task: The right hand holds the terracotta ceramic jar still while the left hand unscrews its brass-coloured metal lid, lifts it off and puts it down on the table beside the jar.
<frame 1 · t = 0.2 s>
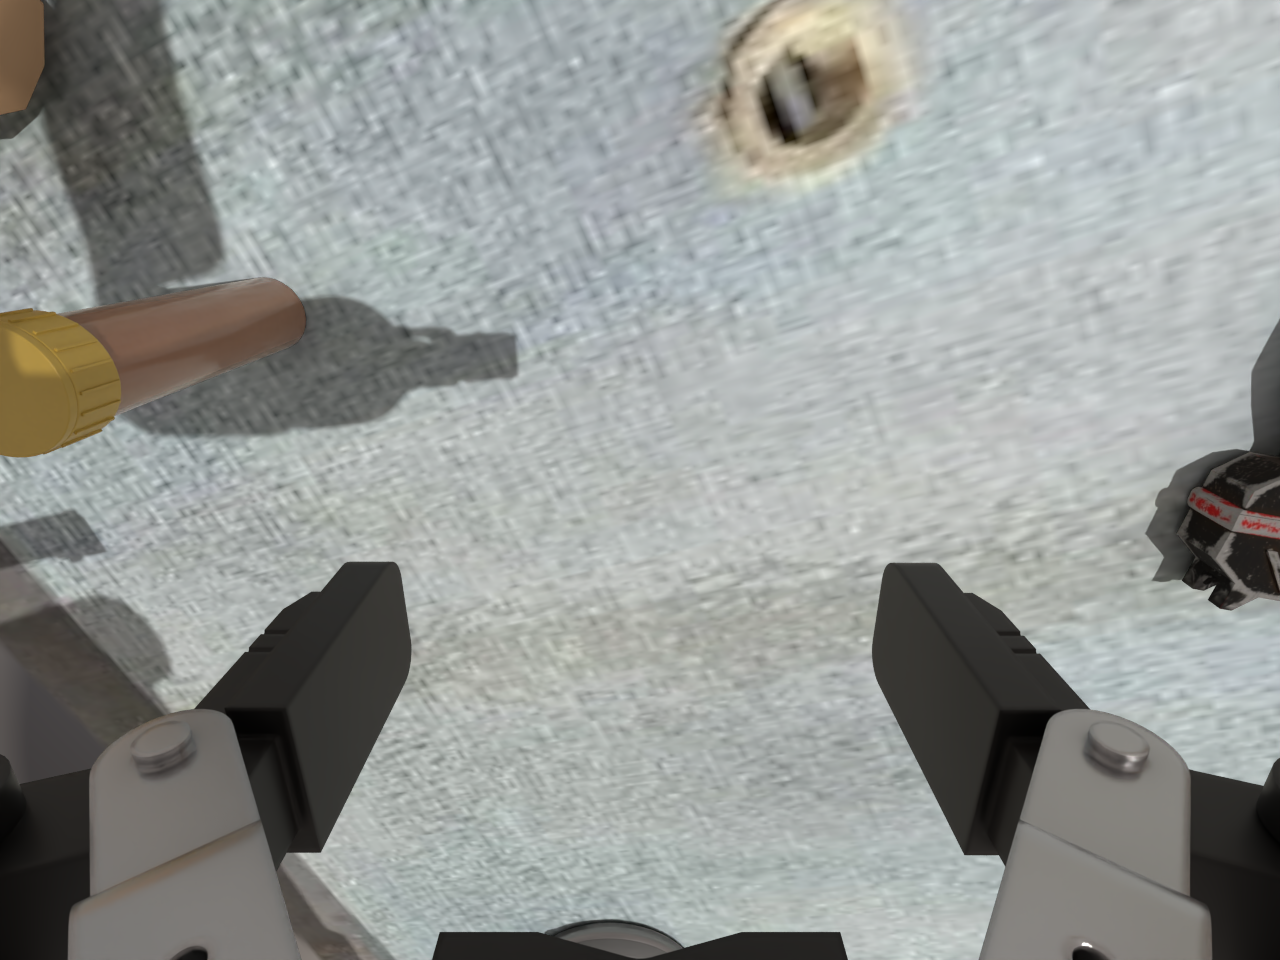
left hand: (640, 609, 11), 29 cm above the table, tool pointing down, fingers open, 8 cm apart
lid: (5, 389, 22), point 17 cm above the table, screwed on, not yet turned
jar: (270, 314, 38), on the table
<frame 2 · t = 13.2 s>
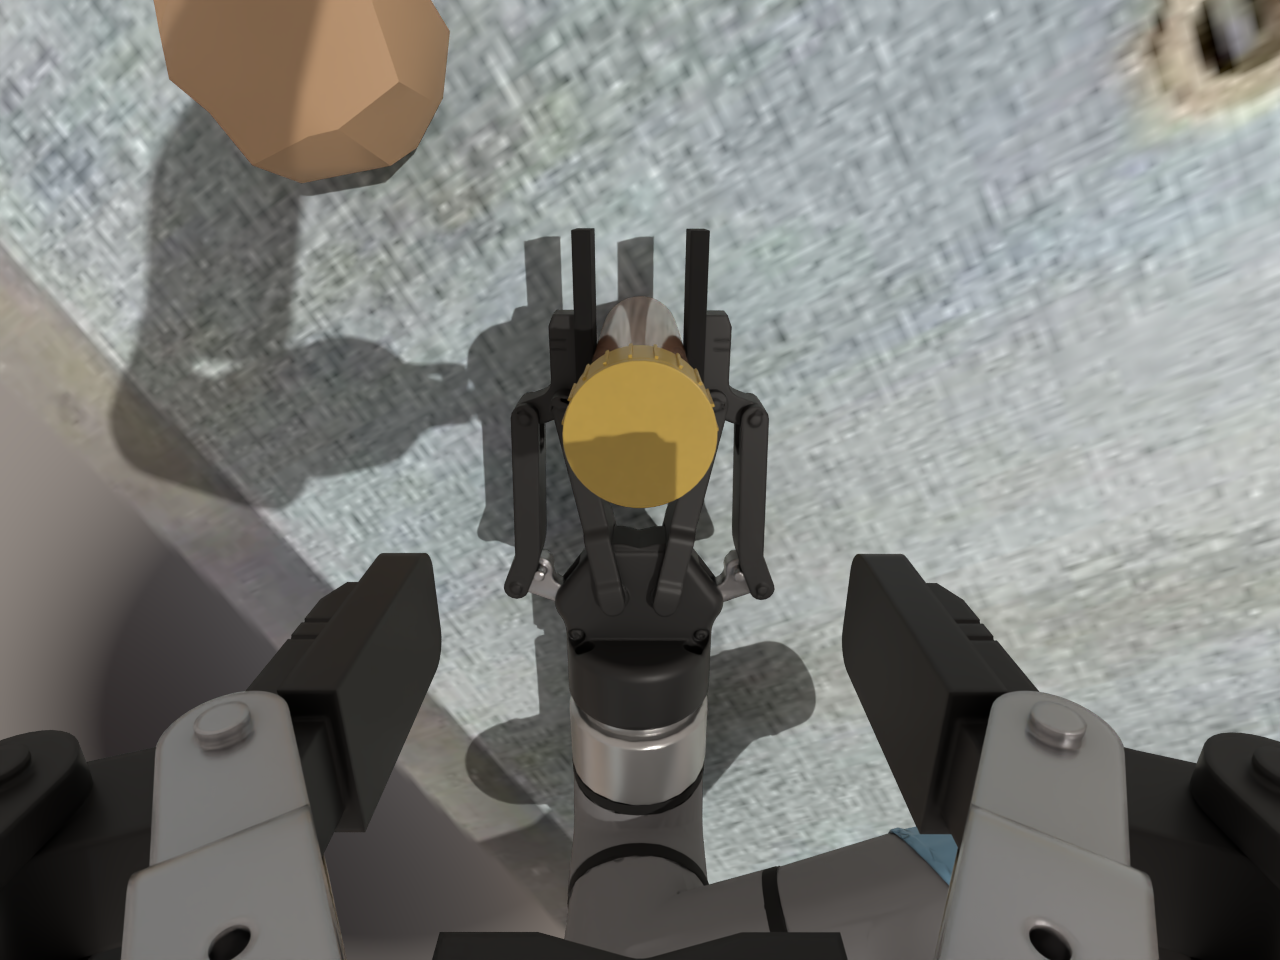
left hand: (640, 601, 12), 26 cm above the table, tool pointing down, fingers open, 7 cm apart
right hand: (640, 230, 28), fingers closed on jar, 4 cm apart
lid: (640, 434, 20), point 17 cm above the table, screwed on, not yet turned
jar: (639, 334, 36), on the table, touching right hand
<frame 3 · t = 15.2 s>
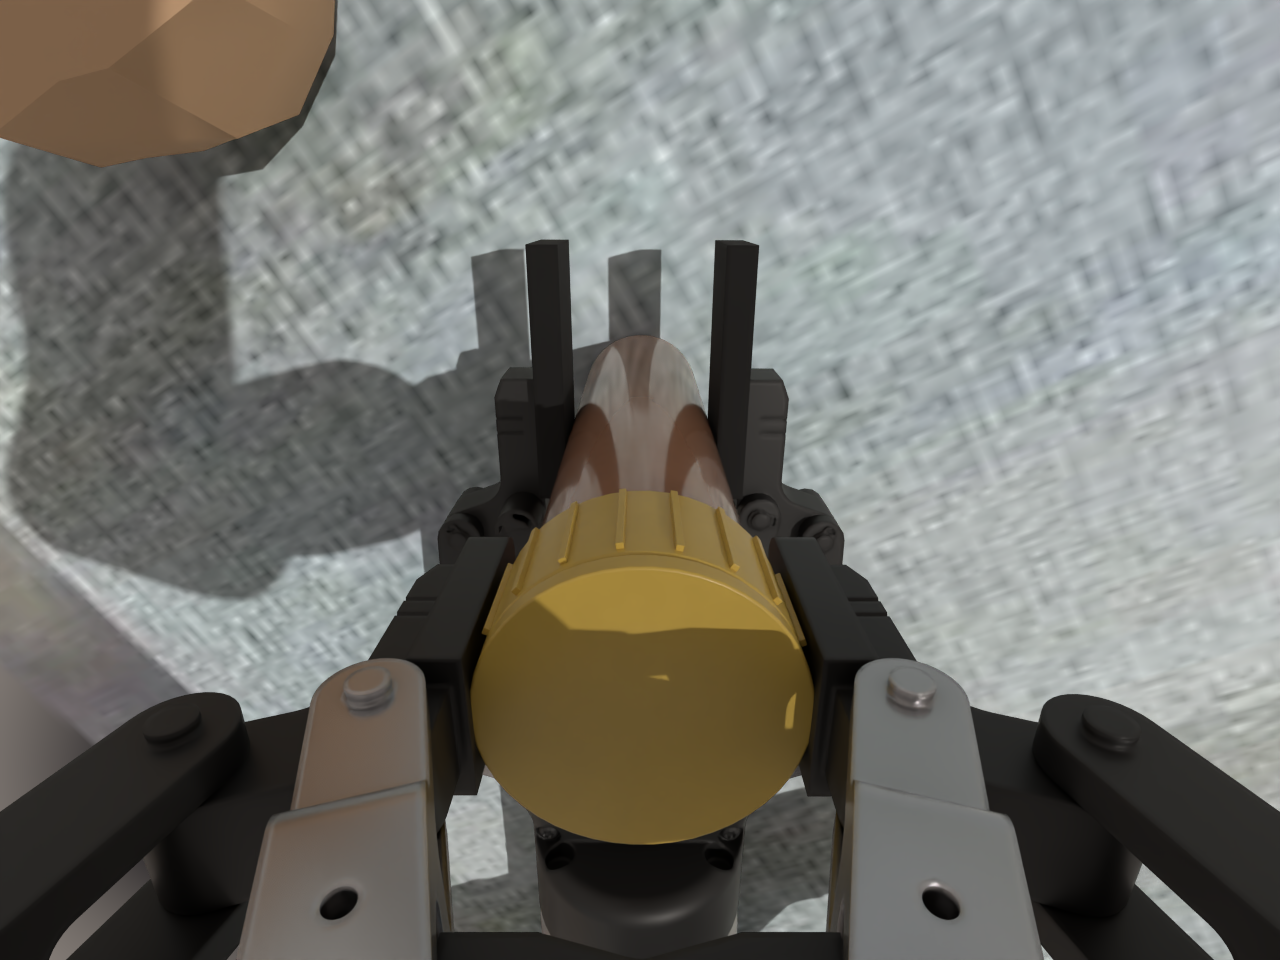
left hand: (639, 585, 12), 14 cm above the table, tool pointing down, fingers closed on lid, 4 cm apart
lid: (642, 701, 9), point 17 cm above the table, screwed on, not yet turned, touching left hand
jar: (640, 389, 25), on the table, touching right hand
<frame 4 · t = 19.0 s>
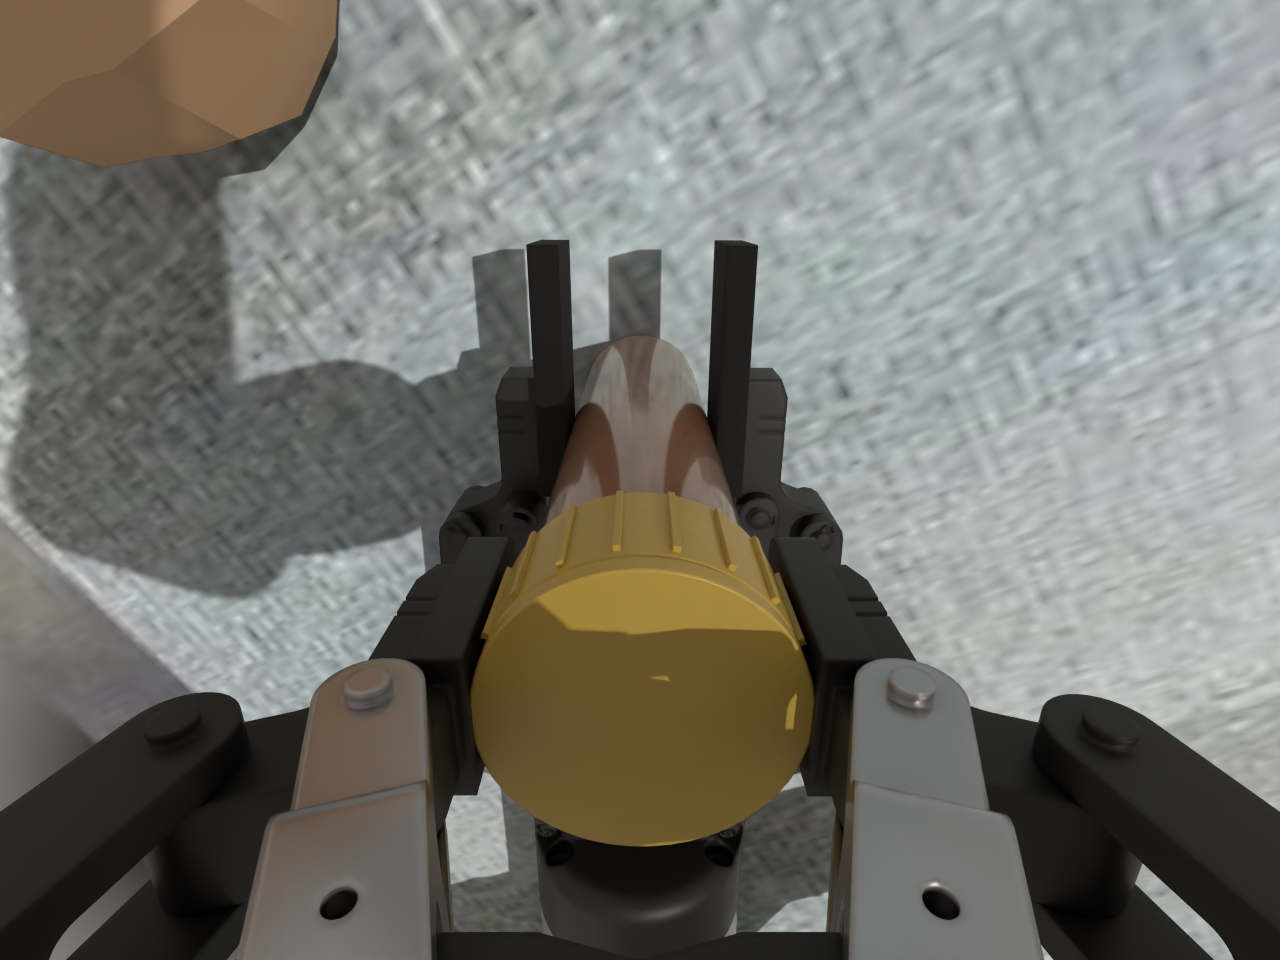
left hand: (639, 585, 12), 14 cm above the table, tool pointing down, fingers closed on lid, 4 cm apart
lid: (642, 703, 9), point 17 cm above the table, turned 96° so far, risen 0.1 cm, still on its thread, touching left hand
jar: (640, 388, 25), on the table, touching right hand
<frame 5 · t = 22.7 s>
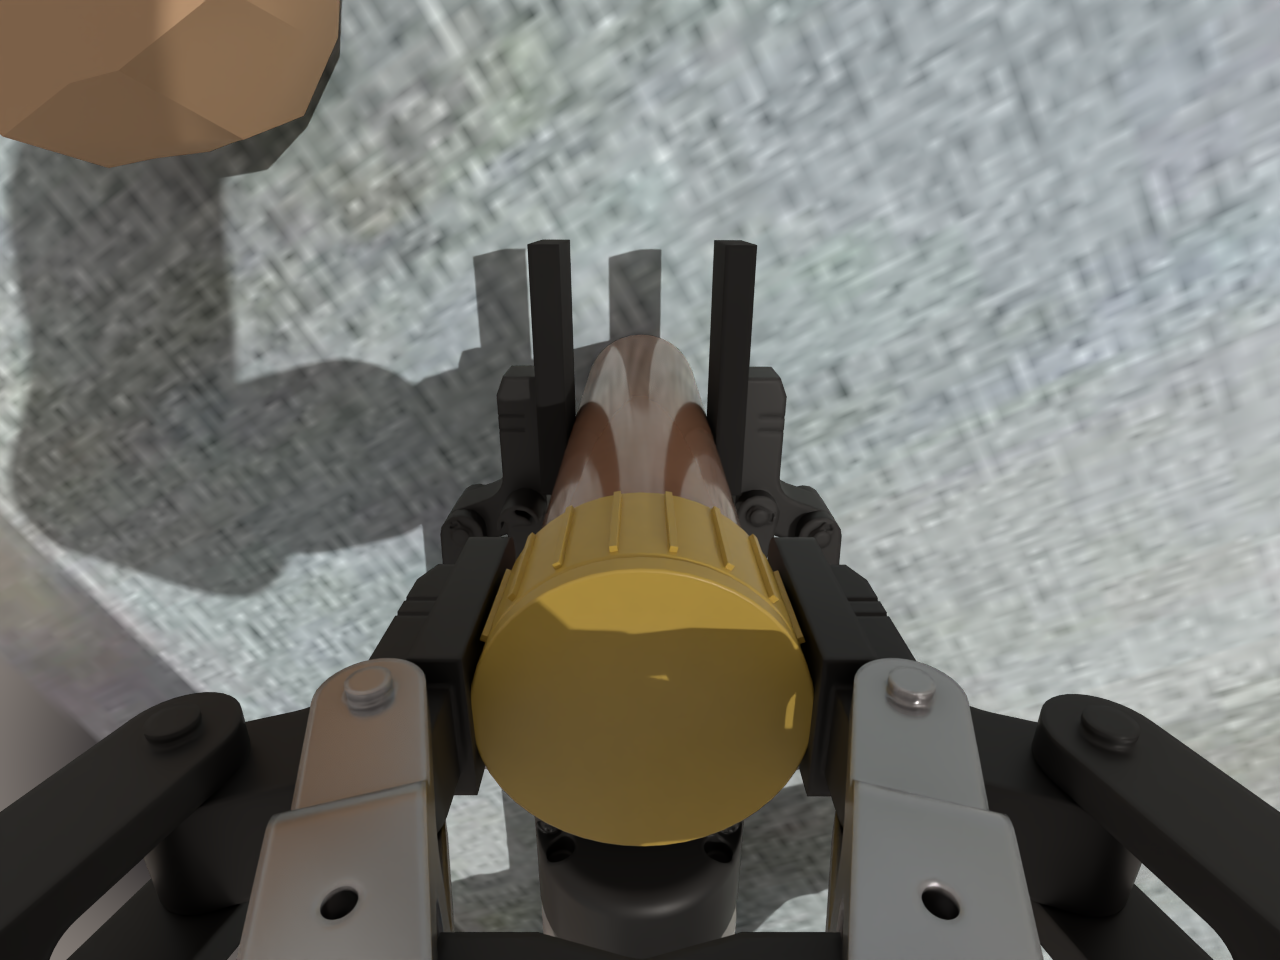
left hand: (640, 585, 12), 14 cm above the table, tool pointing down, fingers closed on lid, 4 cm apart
lid: (642, 703, 9), point 17 cm above the table, turned 191° so far, risen 0.3 cm, still on its thread, touching left hand
jar: (641, 388, 25), on the table, touching right hand
when the left hand's fingers open (1 cm above the table, at t = 33.9 s): lid drops 2 cm, point 2 cm above the table.
when the right hand's fingers open (6 cm above the table, at t = 34.8 s): jar stays where it is, on the table.
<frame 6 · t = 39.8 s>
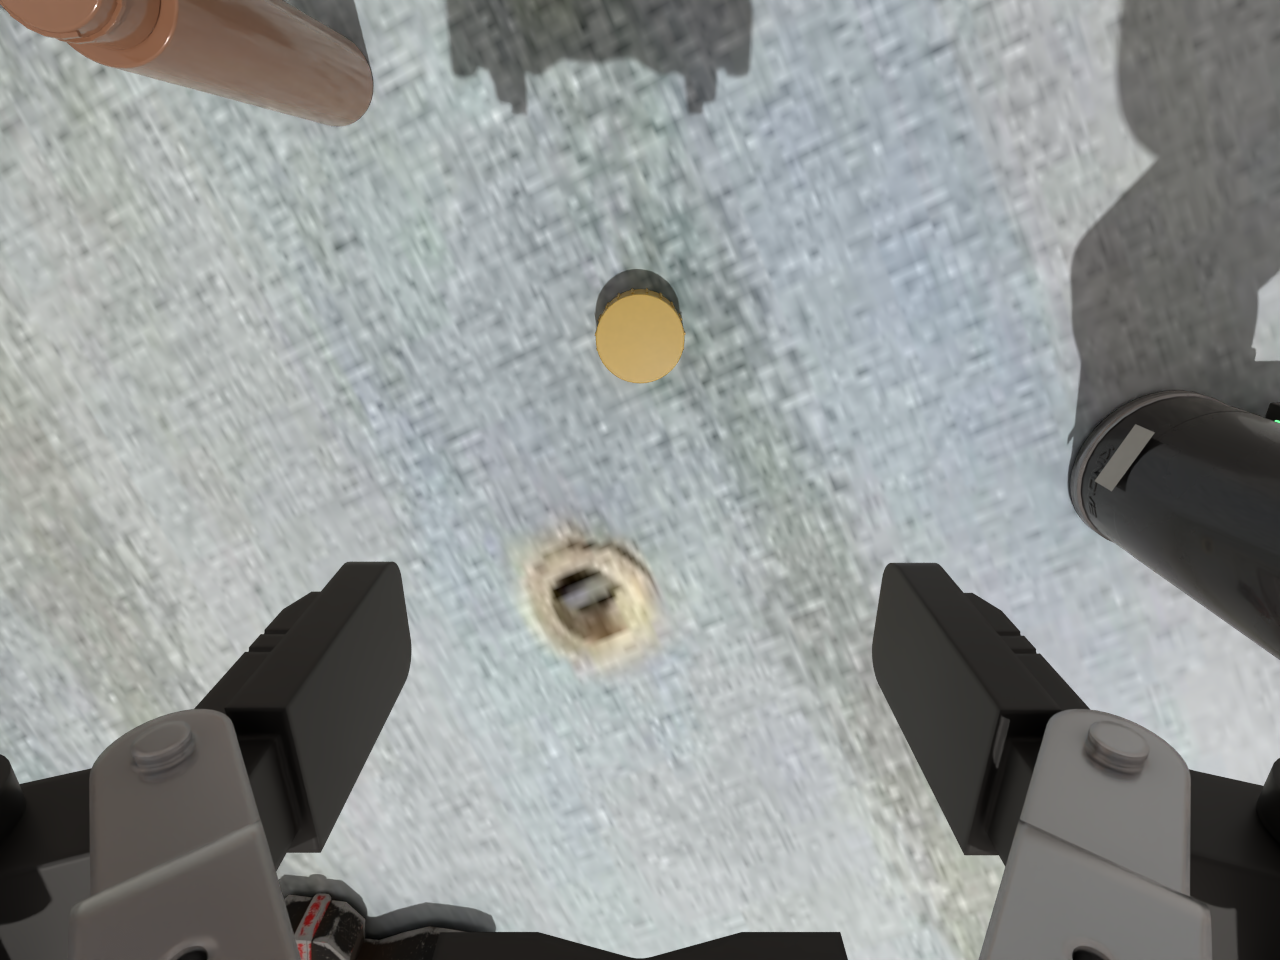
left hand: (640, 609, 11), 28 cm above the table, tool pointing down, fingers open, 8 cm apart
lid: (640, 338, 35), point 2 cm above the table, off its thread
jar: (331, 79, 32), on the table
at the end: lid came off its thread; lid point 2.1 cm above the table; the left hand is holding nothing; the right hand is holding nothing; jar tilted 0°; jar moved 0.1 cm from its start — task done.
